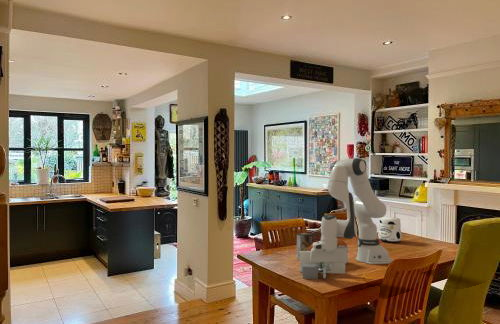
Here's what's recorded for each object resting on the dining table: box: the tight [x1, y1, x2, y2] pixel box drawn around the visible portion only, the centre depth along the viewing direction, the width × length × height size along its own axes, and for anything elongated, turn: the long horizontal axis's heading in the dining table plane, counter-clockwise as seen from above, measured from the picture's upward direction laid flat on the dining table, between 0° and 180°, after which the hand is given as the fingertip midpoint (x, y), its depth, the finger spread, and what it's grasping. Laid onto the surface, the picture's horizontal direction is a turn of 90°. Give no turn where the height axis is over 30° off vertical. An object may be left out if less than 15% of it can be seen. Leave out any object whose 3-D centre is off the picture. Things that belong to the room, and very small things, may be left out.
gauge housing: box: [299, 251, 346, 280], centre depth 206 cm, size 26×12×12 cm, turn 86°
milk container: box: [377, 216, 402, 243], centre depth 294 cm, size 17×17×18 cm
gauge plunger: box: [318, 262, 327, 279], centre depth 205 cm, size 12×12×10 cm
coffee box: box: [296, 232, 314, 260], centre depth 241 cm, size 9×6×16 cm
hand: (328, 270), depth 203 cm, fingers closed
